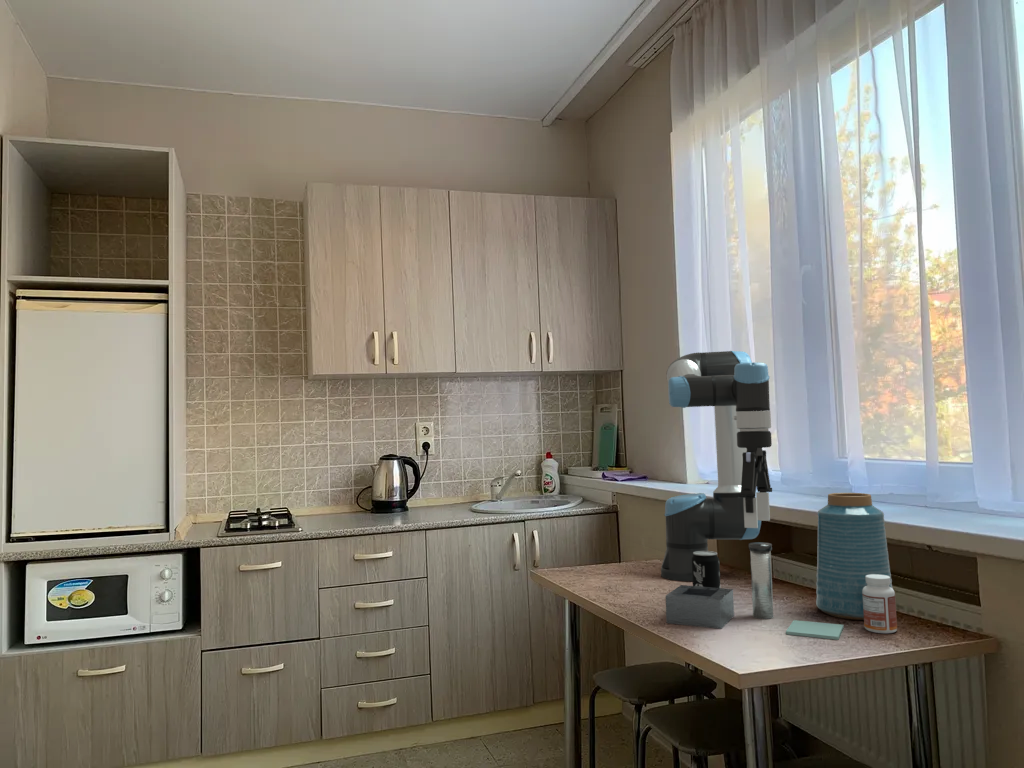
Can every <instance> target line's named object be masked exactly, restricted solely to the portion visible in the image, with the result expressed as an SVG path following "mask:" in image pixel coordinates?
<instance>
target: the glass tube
mask: <svg viewBox="0 0 1024 768" xmlns="http://www.w3.org/2000/svg"><path fill="white" fill-rule="evenodd" d="M772 546H773V544H772V543H770V542H759V541H758V542H750V543H748V550H749V551H750V553H749V555H750V558H749V559H750V575H751V577H750V579H751V601H752V617H753V618H755V619H758V620H759V619H760V620H769V619H773V618H774V600H773V599H774V598H773V579H772V578H773V577H772V576H773V574H772V553H771V551H773V547H772Z"/></svg>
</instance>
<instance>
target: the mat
mask: <svg viewBox="0 0 1024 768" xmlns="http://www.w3.org/2000/svg"><path fill="white" fill-rule="evenodd" d="M843 630H844V624H839V623H838V624H837V623H829V622H819V621H818V622H817V621H807V620H796V619H793V620H792V622H791V623H790V625H789V626H788V627H787V628H786V630H785V635H790V636H796V637H797V636H799V637H806V638H807V637H809V638H818V639H826V640H827V639H829V640H835V641H837V640H840V637H841V635H842V633H843Z"/></svg>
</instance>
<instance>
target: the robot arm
mask: <svg viewBox="0 0 1024 768" xmlns="http://www.w3.org/2000/svg"><path fill="white" fill-rule="evenodd" d="M768 367H769V366H768V364H766V362H758V361H757V362H756V361H755V362H753V361H752V359H751V356H750V355H749V354H748V353H747V352H746V351H740V350H739V351H737V350H726V351H709V352H708V351H707V352H693V353H688V354H685V355H682V356H680V357H678V358H676V359H675V360H673V361H672V362H671V363H670V364H669V366H668V367H667V370H666V380H667V381H666V382H667V384H668V385H667V390H668V403H669V406H670V407H671V408H682V409H685V408H696V407H697V408H698V407H699V408H700V407H702V408H703V407H714V421H715V422H714V424H715V425H714V426H715V441H716V443H715V444H716V447H715V448H716V464H717V465H716V466H717V467H716V468H717V484H718V485H717V487H716V488H715V489H714V490H713V492H712V493H713V494H712V498H707V495H706V494H705V493H704V492H703V493H700V492H699V493H687V494H681V495H676V496H672V497H670V498H667V500H666V501H665V506H664V508H665V509H664V514H663V515H664V517H665V544H666V546H665V547H666V548H665V553H664V556H663V560H662V564H661V567H660V575H661V577H662V578H664V579H667V580H671V581H677V582H678V581H679V582H693V580H692V557H693V555H694V554H693V552H696V551H709V547H708V546H709V545H708V543H709V542H708V540H739V541H742V540H753V539H756V538H757V537H758V536H759V534H760V532H761V531H760V530H761V526H762V521H763V522H764V521H766V522H767V521H768V522H770V521H771V513H770V512H771V511H770V510H771V509H770V493H773V487H771V482H770V475H769V468H768V461H767V451H766V450H765V449H764V448H770V447H772V446H773V445H772V432H771V431H770V430H769V429H771V428H772V423H771V422H772V417H771V406H770V405H771V404H770V403H771V402H770V375H769V368H768ZM763 449H764V450H763Z"/></svg>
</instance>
